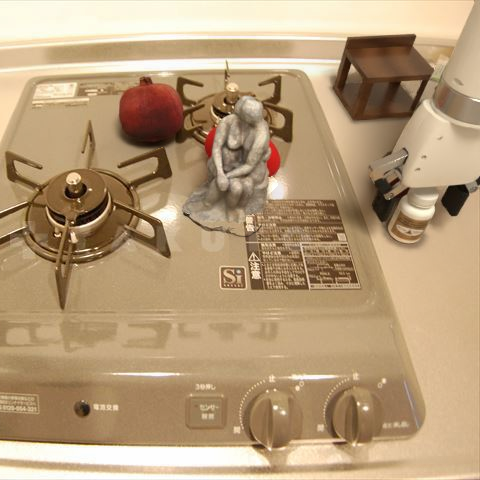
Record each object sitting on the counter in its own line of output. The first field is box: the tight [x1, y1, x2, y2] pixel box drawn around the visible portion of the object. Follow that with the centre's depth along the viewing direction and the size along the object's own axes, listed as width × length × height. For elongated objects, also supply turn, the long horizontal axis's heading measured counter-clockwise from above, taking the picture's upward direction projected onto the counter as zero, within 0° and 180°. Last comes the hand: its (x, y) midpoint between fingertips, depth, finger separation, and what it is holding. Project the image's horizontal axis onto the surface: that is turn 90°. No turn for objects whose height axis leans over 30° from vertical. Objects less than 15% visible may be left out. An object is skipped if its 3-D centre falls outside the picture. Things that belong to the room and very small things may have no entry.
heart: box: [204, 125, 282, 178], centre depth 79 cm, size 12×5×10 cm, turn 62°
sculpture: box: [181, 95, 271, 234], centre depth 71 cm, size 11×18×12 cm
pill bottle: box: [387, 187, 440, 244], centre depth 72 cm, size 4×4×8 cm
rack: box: [332, 33, 435, 121], centre depth 93 cm, size 12×10×10 cm
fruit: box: [118, 76, 185, 143], centre depth 85 cm, size 11×10×10 cm
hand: (413, 211), depth 72 cm, fingers open, 9 cm apart
